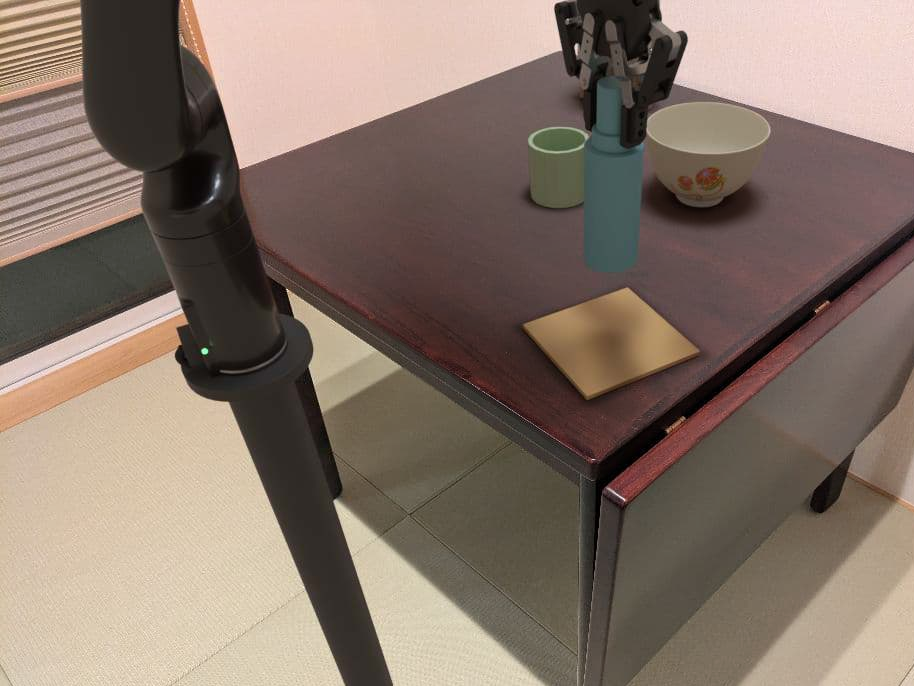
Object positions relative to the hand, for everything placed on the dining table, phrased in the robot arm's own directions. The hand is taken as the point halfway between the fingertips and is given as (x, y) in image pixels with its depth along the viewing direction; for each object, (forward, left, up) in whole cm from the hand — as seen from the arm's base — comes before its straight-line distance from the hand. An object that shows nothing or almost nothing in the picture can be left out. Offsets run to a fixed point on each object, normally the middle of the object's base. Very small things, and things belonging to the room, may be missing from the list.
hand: (614, 136), depth 71 cm
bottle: (0, 0, -13) cm, 13 cm away
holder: (+12, +32, -23) cm, 41 cm away
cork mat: (0, 0, -23) cm, 23 cm away
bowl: (+28, +21, -23) cm, 42 cm away
